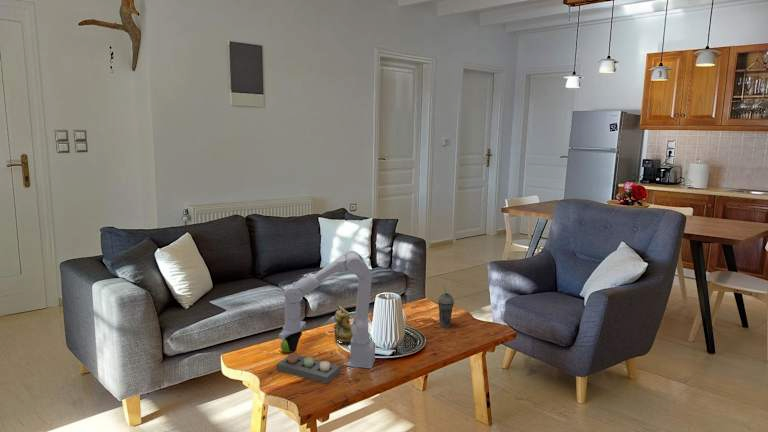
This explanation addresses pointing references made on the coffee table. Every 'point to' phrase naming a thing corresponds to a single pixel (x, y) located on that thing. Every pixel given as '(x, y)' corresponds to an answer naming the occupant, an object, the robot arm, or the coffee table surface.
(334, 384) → the coffee table surface
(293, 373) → the button panel
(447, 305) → the beverage cup
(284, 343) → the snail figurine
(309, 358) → the sage button
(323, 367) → the cream button
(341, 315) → the decorative figurine
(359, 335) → the robot arm
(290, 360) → the terracotta button
